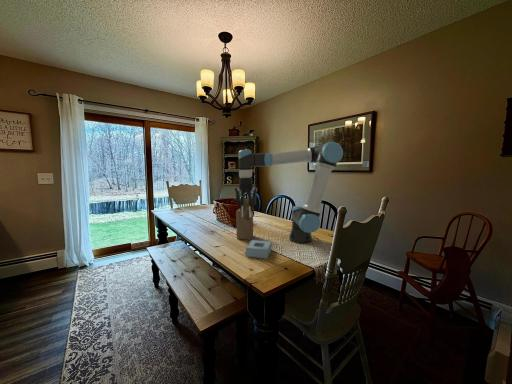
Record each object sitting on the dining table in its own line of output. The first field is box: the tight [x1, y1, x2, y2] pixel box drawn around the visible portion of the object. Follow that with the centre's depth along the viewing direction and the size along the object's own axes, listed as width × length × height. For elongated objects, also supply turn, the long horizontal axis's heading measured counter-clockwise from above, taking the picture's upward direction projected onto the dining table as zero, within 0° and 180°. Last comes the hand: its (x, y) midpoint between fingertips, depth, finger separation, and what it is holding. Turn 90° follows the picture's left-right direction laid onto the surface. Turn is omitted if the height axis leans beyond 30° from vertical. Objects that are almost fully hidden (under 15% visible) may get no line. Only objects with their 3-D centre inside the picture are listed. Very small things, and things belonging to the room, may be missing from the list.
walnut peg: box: [243, 198, 250, 220], centre depth 121 cm, size 4×4×12 cm
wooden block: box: [235, 208, 254, 241], centre depth 143 cm, size 10×10×20 cm
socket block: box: [245, 239, 272, 259], centre depth 118 cm, size 12×12×5 cm
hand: (246, 216), depth 122 cm, fingers closed on walnut peg, 4 cm apart
